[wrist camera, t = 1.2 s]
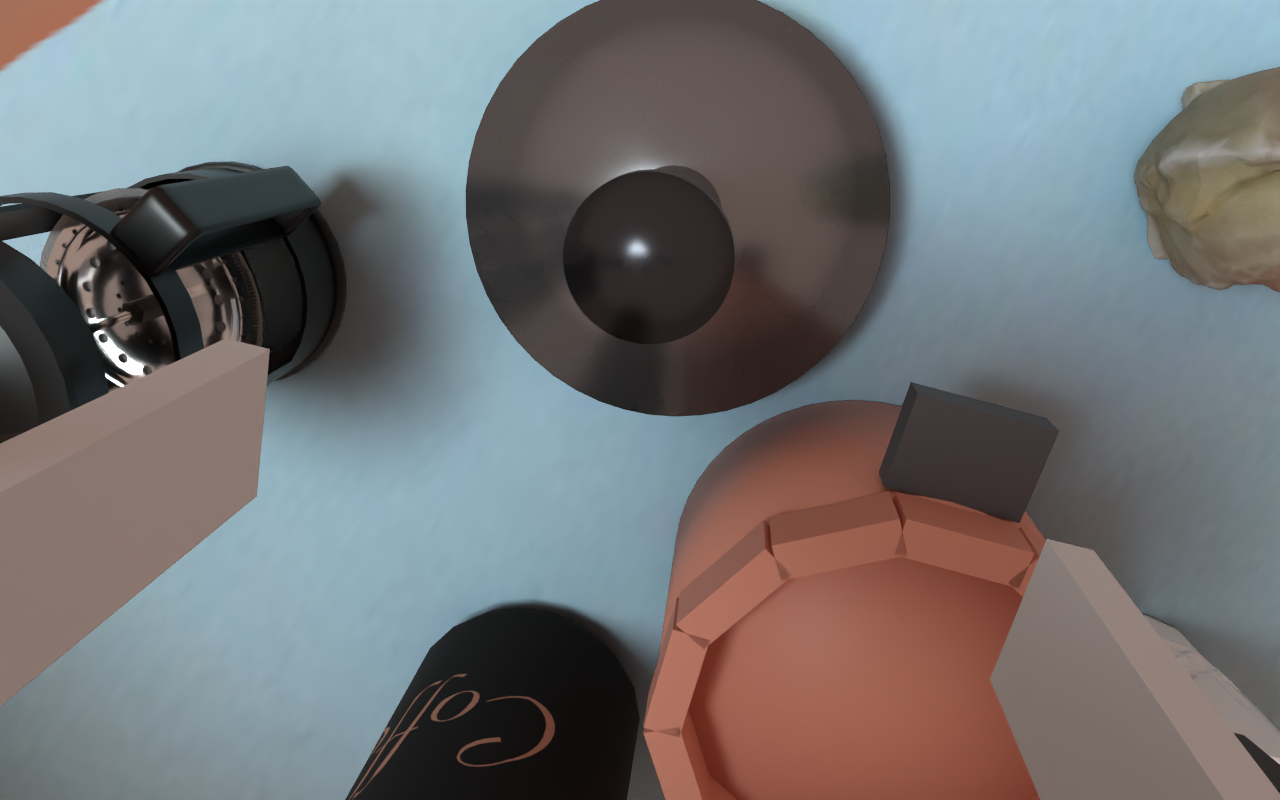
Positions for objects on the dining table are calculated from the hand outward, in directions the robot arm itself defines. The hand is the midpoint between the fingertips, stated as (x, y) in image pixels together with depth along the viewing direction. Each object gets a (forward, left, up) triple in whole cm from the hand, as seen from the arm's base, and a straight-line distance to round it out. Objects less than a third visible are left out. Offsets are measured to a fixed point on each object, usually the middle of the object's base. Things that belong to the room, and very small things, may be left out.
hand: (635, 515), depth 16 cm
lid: (-1, +2, -23) cm, 24 cm away
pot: (+10, -11, -23) cm, 27 cm away
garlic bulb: (+19, +8, -24) cm, 31 cm away
